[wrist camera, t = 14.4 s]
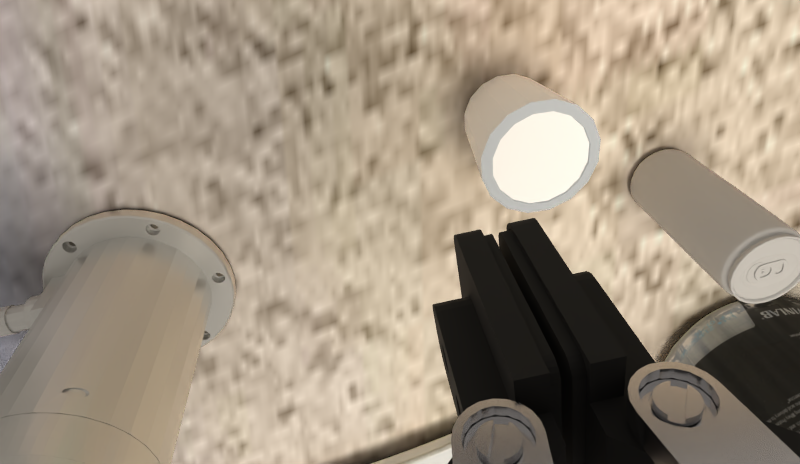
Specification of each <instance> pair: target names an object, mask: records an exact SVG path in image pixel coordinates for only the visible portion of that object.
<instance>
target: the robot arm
mask: <svg viewBox="0 0 800 464" xmlns="http://www.w3.org/2000/svg"><path fill="white" fill-rule="evenodd" d="M454 244H455V251H456V258H457V265H458V272H459V279H460V286H461V294H462V298H461V299H456V300H451V301H447V302H442V303H437V304H433V312H434V318H435V323H436V329H437V334H438V339H439V344H440V349H441V353H442V357H443V362H444V366H445V370H446V374H447V377H448V381H449V385H450V389H451V392H452V396H453V400H454V404H455V407H456V411H457V415H458V418H457V420H456V422H455V424H454V426H453V428H452V437H451V446H452V458H451V460H450V461H449V462H448V464H800V433H797V432H794V431H792V430H789V429H786V428H783V427H781V426H778V425H775V424H772V423H769V422H767V421H764V420H761V419H758V418H757V417H756V416H755V415H754V414H753V413H752V412H751V411H750V410H749V409H748V408H747V407H745V406H744V405H743V404H742V403H741V402H740V401H739V400H738V399H737V398H736V397H735V396H734V395H733V394H732V393H731V392H730V391H729V390H728V389H726V388H725V387H724V386H723V385H722V384H721V383H720V382H719V381H718V380H716V379H715V378H714V377H712V376H711V375H710V374H708V373H707V372H705V371H703V370H701V369H699V368H696V367H694V366H692V365H688V364H683V363H679V362H657V363H655V361H654V360H653V359H652V357H651V356H650V354H649V353H648V352H647V350H646V349H645V347H644V346H643V345H642V343H641V342H640V340H639V339H638V338H637V336H636V335H635V333H634V332H633V331H632V329H631V328H630V326H629V325H628V324H627V322H626V321H625V319H624V318H623V317H622V315H621V314H620V312H619V311H618V310H617V308H616V307H615V305H614V304H613V303H612V301H611V300H610V298H609V297H608V296H607V294H606V293H605V291H604V290H603V289H602V287H601V286H600V284H599V283H598V282H597V280H596V279H595V277H594V276H593V275H592V274H591V273H590V272H587V271H585V272H581V273H576V274H572V273H571V271H570V270H569V268H568V267H567V265H566V264H565V262H564V261H563V259H562V258H561V256H560V255H559V253H558V252H557V250H556V249H555V247H554V245H553V244H552V242H551V241H550V239H549V238H548V236H547V235H546V233H545V232H544V230H543V229H542V227H541V226H540V224H539V223H538V221H537V220H536V219H535V218H532V219H527V220H522V221H518V222H513V223H508V224H507V231H504V232H500V233H499V246H498V244H497V242H496V240H495V239H494V237H493V235H492V234H490V235H486V236H484V235H483V233H482V231H481V230H476V231H471V232H466V233H462V234H457V235H454ZM42 281H43V290H44V291H43V292H42V294H41V295H37V296H32V297H30V298H29V299H27V300H26V303H25V304H21V305H17V306H14V305H11V306H6V307H1V308H0V337H3V336H8V335H12V334H17V333H19V332H20V331H25V330H29V331H28V332H27V334H26V335H25V337H24V338H23V340H21V343H20V344H19V346H18V347H17V349H16V351H15V352H14V354H13V355H12V357H11V358H10V360H9V361H8V363H7V364H6V366H5V367H4V369H3V370H2V372H1V374H0V464H171V461H172V457H173V453H174V449H175V445H176V441H177V437H178V434H179V430H180V426H181V422H182V418H183V414H184V410H185V406H186V402H187V398H188V394H189V390H190V387H191V383H192V379H193V375H194V371H195V367H196V363H197V359H198V355H199V351H200V348H201V347H203V346H205V345H206V344H208V343H209V342H210V341H212V340H213V339H214V338H216V337H217V336H218V334H219V333H220V332H221V331H222V330H223V329H224V328H225V326H226V324H227V322H228V321H229V319H230V317H231V314H232V310H233V307H234V302H235V295H236V287H235V278H234V275H233V272H232V269H231V266H230V264H229V263H228V261H227V259H226V258H225V256H224V254H223V253H222V251H221V250H220V249H219V248H218V247H217V246H216V245H215V244H214V243H213V242H212V241H211V240H210V239H209V238H208V237H206V236H205V235H204V234H203V233H201V232H200V231H199V230H197V229H196V228H194V227H192V226H190V225H188V224H186V223H184V222H183V221H181V220H178V219H175V218H172V217H169V216H167V215H164V214H160V213H154V212H149V211H144V210H116V211H108V212H103V213H100V214H96V215H93V216H90V217H87V218H85V219H83V220H81V221H79V222H78V223H76V224H74V225H72V226H71V227H70V228H69V229H68V230H67V231H65V232H64V233H63V234H62V235H61V236H60V237H59V239H58V240H57V241H56V243H55V244H54V245H53V246H52V248H51V250H50V252H49V253H48V255H47V257H46V259H45V262H44V267H43V272H42Z"/></svg>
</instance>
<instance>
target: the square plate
mask: <svg viewBox="0 0 800 464" xmlns="http://www.w3.org/2000/svg"><path fill="white" fill-rule="evenodd" d="M451 437H452V433H451V434H449V435H446V436H444V437H441V438H439V439H436V440H434V441H431V442H429V443H426V444H424V445H421V446H418V447H416V448H413V449H410V450H408V451H405V452H402V453H399V454H397V455H394V456H391V457H388V458H386V459H383V460H380V461H377V462H374V463H371V464H448V462H449V461H450V460H451V458H452V446H451Z"/></svg>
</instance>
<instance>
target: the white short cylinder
mask: <svg viewBox="0 0 800 464" xmlns="http://www.w3.org/2000/svg"><path fill="white" fill-rule="evenodd" d="M464 120H465V132H466V135H467V137H468V140H469V143H470V146H471V149H472V152H473V155H474V158H475V161H476V163H477V166H478V169H479V172H480V175H481V178H482V180H483V182H484V184H485V186H486V188H487V190H488V192H489V194H490V196H491V197H492V198H494V199H495V200H496V201H498V202H499V203H500V204H502V205H503V206H504V207H506V208H507V209H512V210H517V211H521V212H526V213H530V212H537V211H543V210H550V209H552V208H554V207H556V206H558V205H560V204H562V203H564V202H565V201H567V200H569V199H571V198H572V197H573V196H574V195H575V194H576V193H577V192H578V191H579V190H580V189H581V188H582V187H583V186H584V185H585V184H586V183H587V182H588V181H589V179H590V177H591V175H592V173H593V171H594V169H595V167H596V165H597V163H598V160H599V150H600V140H601V139H600V136H599V133H598V131H597V128H596V125H595V122H594V119H593V118H591V117H590V116H589V115H588V114H587V113H586V112H585V111H584V110H583V109H582V108H581V107H579V106H578V105H577V104H575V103H573V102H572V101H570V100H568V99H566V98H564V97H563V96H561V95H559V94H557V93H555V92H554V91H552V90H550V89H548V88H547V87H545V86H543V85H541V84H539V83H538V82H536V81H534V80H532V79H530V78H528V77H524V76H521V75H517V74H508V75H501V76H496V77H495V78H493V79H491V80H489V81H487V82H486V83H484V84H482V85H481V86H480V87H479V88H478V90H477V91H476V92H475V93H474V94H473V95H472V97H471V98H470V100H469V103H468V105H467V108H466V111H465V114H464Z"/></svg>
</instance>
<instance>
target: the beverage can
mask: <svg viewBox="0 0 800 464" xmlns="http://www.w3.org/2000/svg"><path fill="white" fill-rule="evenodd" d="M630 189H631V195H632V197H633V199H634V201H635V202H636V203H637V204H638V205H639V206H640V207H641V208H642V209H643V210H644V211H645V212H646V213H647V214H648V215H649V216H650V217H651V218H652V219H653V220H654V221H655V222H656V223H657V224H658V225H659V226H660V227H661V228H662V229H663V230H664V231H665V232H666V233H667V234H668V235H669V236H670V237H671V238H672V239H673V240H674V241H676V242H677V243H678V244H679V245H680V246H681V247H682V248H683V249H684V250H685V251H686V252H687V253H688V254H689V255H690V256H691V257H692V258H693V259H694V260H695V261H696V262H697V263H698V264H699V265H700V266H701V267H702V268H703V269H704V270H705V271H706V272H707V273H708V274H709V275H710V276H711V277H712V278H713V279H714V280H715V281H716V282H717V283H718V284H719V285H720V286H721V287H722V288H723V289H724V290H725V291H726V292H728V293H729V294H730V295H733V296H735V297H736V298H737V299H738V300H739V301H742V302H745V303H752V304H758V303H764V302H768V301H771V300H773V299H776V298H778V297H780V296H782V295H784V294H785V293H787V292H788V291H790V290H791V289H792V288H793V287H795V286H796V285H797V284H798V283H799V282H800V234H799V233H798V232H797V231H796V230H794V229H793V228H792V227H790V226H789V225H787V224H786V223H785V222H783V221H782V220H780V219H779V218H778V217H776V216H775V215H773V214H772V213H771V212H769V211H768V210H767V209H765V208H764V207H762V206H761V205H760V204H758V203H757V202H755V201H754V200H753V199H751V198H750V197H748V196H747V195H746V194H744V193H743V192H741V191H740V190H739V189H737V188H736V187H734V186H733V185H732V184H730V183H729V182H727V181H726V180H724V179H723V178H721V177H720V176H719V175H717V174H716V173H714V172H713V171H711V170H710V169H708V168H707V167H706V166H704V165H703V164H701V163H700V162H698V161H697V160H696V159H694V158H693V157H691V156H690V155H689V154H687V153H685V152H683V151H680V150H675V149H666V150H661V151H658V152H656V153H653V154H652V155H650V156H648V157H647V158H645V159H644V160H643V161H642V162H641V163H640V164H639V166H638V167H637V168H636V170H635V172H634V174H633V177H632V179H631V186H630Z"/></svg>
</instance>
